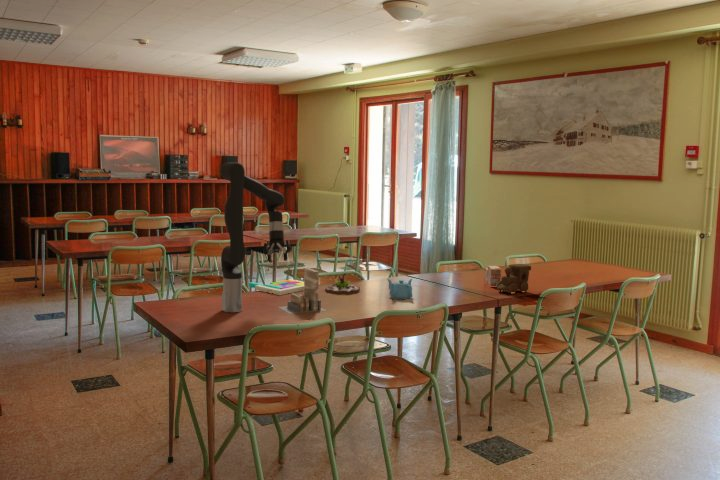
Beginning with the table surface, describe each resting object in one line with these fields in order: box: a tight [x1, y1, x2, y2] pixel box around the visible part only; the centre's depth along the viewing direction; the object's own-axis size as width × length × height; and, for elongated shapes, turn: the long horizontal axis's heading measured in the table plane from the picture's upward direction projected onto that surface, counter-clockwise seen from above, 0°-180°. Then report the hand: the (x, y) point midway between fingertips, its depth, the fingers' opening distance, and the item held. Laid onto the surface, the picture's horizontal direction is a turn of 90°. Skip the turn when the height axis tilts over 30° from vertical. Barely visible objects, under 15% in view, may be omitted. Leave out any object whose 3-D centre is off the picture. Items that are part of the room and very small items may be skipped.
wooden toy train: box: [496, 263, 532, 293], centre depth 400 cm, size 20×11×17 cm, turn 125°
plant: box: [324, 272, 361, 296], centre depth 390 cm, size 20×20×11 cm
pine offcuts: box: [290, 292, 309, 312], centre depth 335 cm, size 5×12×7 cm, turn 29°
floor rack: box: [278, 298, 326, 315], centre depth 336 cm, size 20×16×6 cm
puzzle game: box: [248, 278, 304, 296], centre depth 394 cm, size 30×3×30 cm
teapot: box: [386, 278, 414, 300], centre depth 376 cm, size 15×15×10 cm
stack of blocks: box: [484, 265, 502, 286], centre depth 423 cm, size 21×6×12 cm, turn 0°
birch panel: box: [303, 267, 320, 310], centre depth 337 cm, size 2×12×20 cm, turn 29°
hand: (277, 261), depth 340 cm, fingers open, 8 cm apart
